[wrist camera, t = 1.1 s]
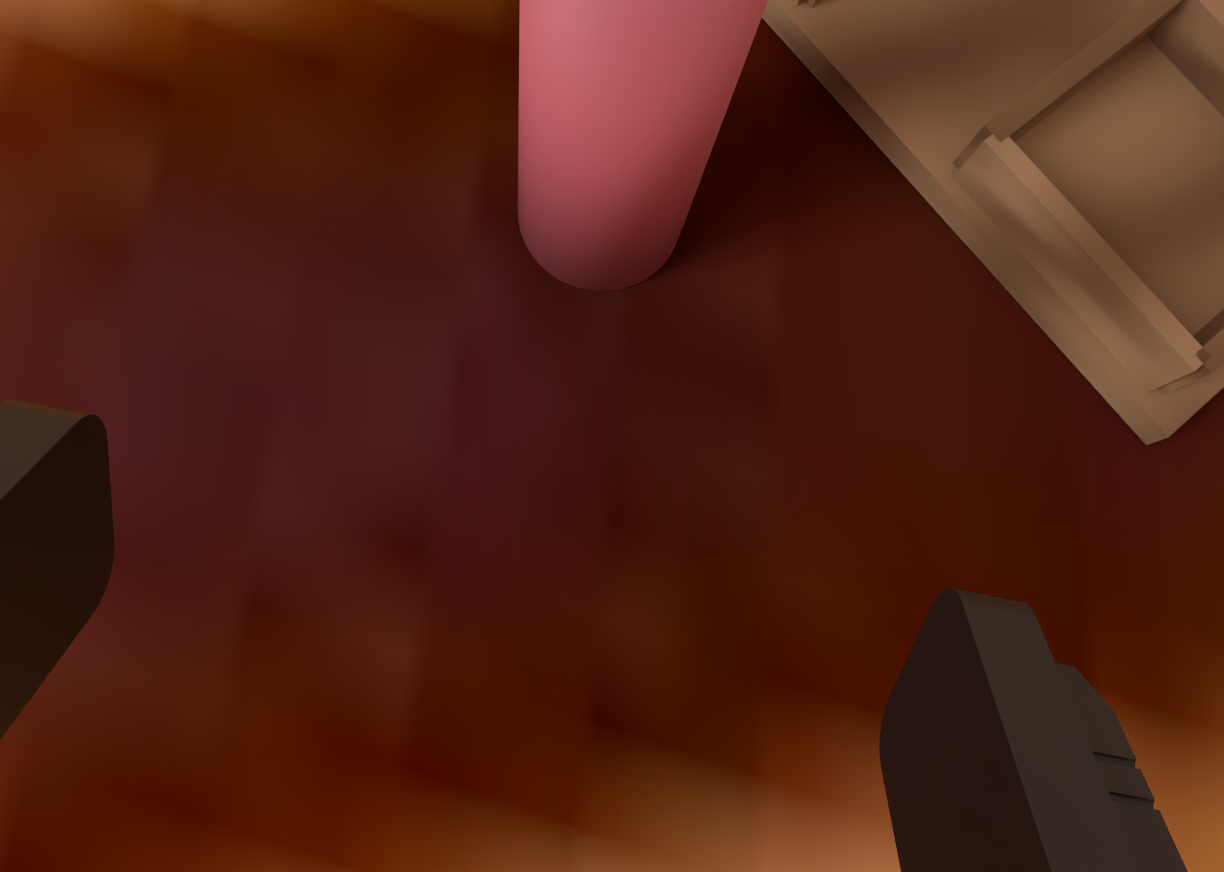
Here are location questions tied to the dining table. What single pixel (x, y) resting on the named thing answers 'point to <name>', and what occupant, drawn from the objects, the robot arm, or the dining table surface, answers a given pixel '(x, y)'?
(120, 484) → the dining table surface
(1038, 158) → the holder
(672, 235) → the candle loose
